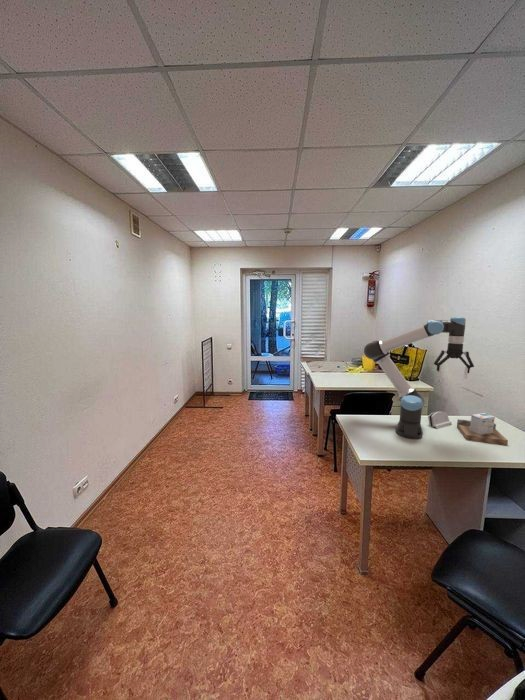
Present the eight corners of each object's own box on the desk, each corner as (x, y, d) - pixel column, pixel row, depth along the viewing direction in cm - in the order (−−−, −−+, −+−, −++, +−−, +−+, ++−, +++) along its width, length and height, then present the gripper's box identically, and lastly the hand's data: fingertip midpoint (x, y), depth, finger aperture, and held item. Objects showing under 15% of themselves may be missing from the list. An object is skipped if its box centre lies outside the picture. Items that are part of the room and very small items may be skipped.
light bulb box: (481, 428, 172) (483, 412, 170) (493, 433, 165) (495, 416, 164) (469, 430, 169) (471, 414, 167) (480, 435, 163) (482, 418, 161)
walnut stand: (465, 439, 164) (466, 430, 163) (456, 427, 180) (457, 419, 180) (507, 445, 157) (508, 435, 156) (493, 432, 173) (494, 423, 172)
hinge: (436, 429, 178) (432, 413, 180) (429, 428, 182) (426, 413, 184) (452, 424, 185) (448, 409, 187) (445, 424, 189) (441, 409, 191)
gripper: (433, 342, 164) (429, 376, 167) (483, 344, 155) (479, 380, 158) (430, 341, 171) (427, 374, 174) (478, 343, 162) (474, 377, 165)
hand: (451, 377), depth 166 cm, fingers open, 13 cm apart
